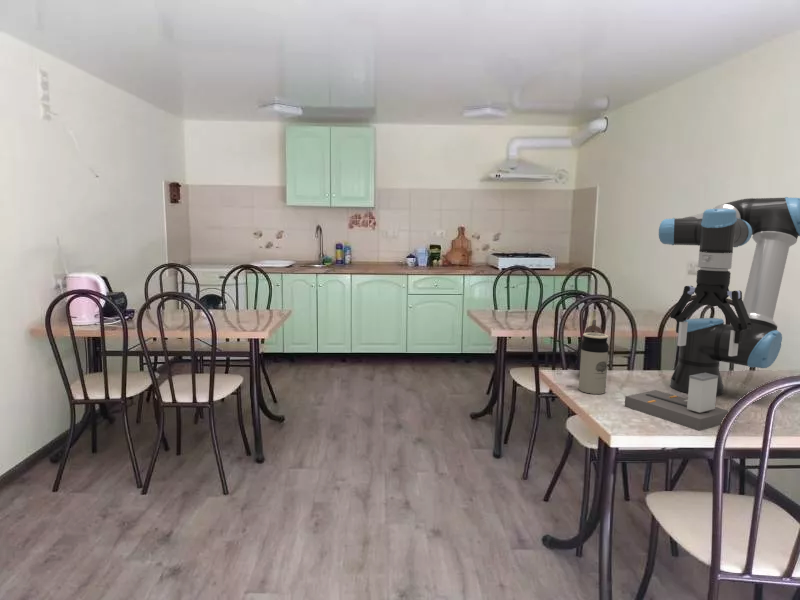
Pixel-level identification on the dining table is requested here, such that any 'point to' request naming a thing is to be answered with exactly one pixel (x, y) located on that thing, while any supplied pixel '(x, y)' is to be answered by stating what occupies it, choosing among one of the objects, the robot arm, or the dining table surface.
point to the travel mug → (593, 363)
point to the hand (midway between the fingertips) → (706, 350)
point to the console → (674, 409)
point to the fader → (702, 392)
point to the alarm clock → (591, 331)
